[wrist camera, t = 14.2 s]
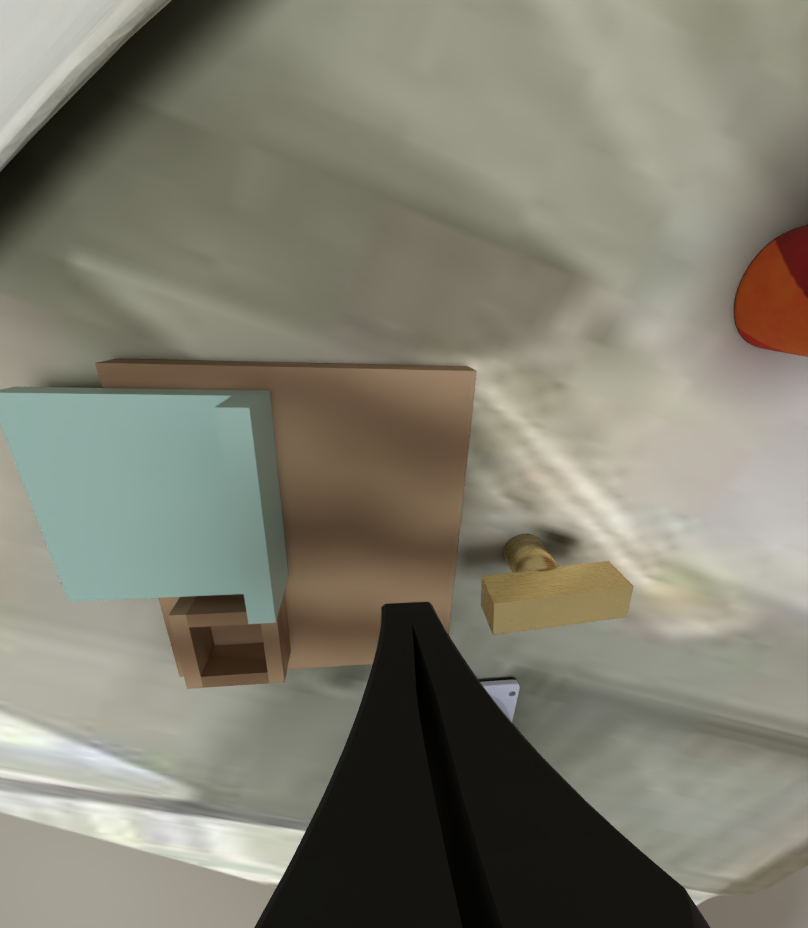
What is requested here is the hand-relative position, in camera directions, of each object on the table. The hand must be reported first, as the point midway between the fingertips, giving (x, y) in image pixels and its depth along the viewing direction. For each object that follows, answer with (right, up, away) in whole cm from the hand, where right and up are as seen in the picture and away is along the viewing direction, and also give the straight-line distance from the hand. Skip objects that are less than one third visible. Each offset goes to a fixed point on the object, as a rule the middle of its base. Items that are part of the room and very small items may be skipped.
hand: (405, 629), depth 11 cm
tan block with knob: (+7, -1, +12) cm, 14 cm away
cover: (-11, +3, +7) cm, 13 cm away
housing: (-5, +1, +10) cm, 12 cm away
